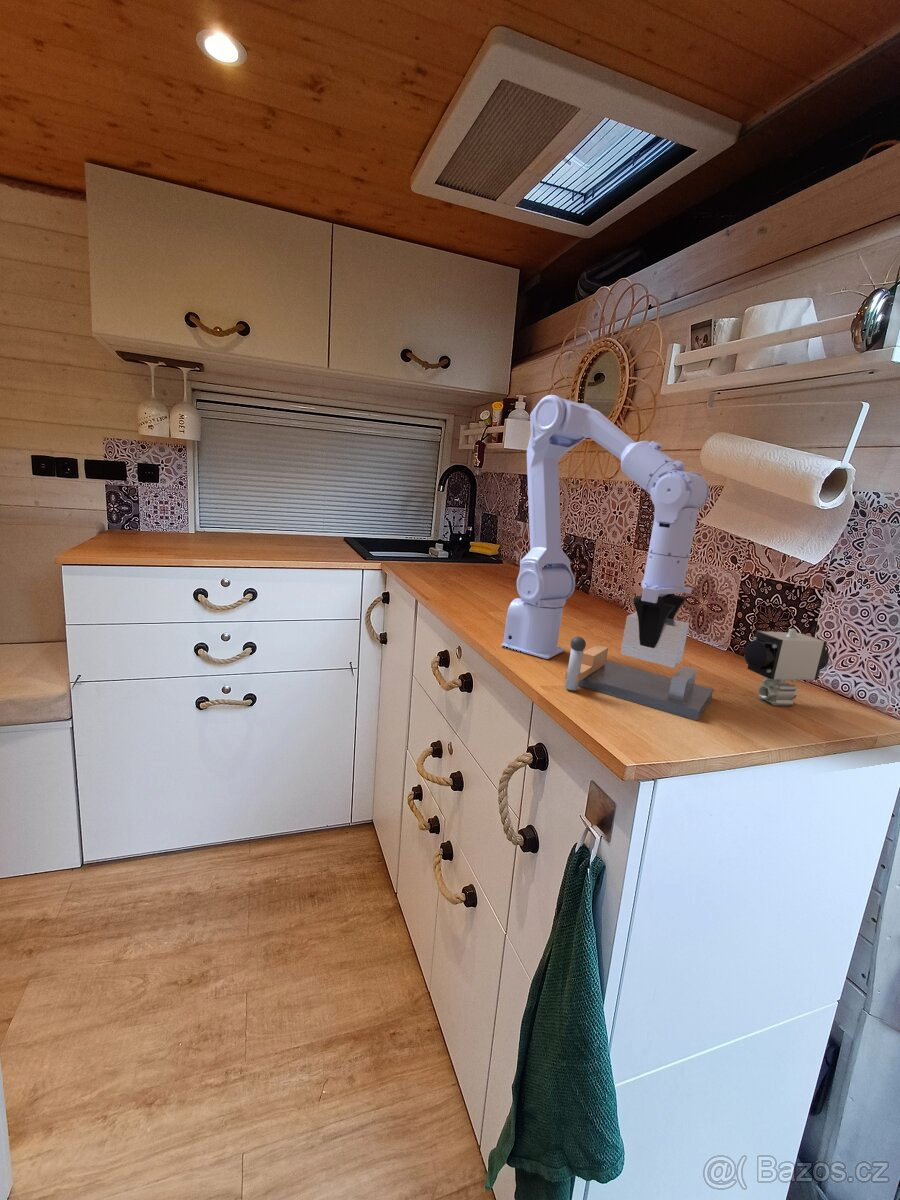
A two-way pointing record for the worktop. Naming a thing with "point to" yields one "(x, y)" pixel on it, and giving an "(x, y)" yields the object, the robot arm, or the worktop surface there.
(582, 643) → the ball knob lever
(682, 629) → the block
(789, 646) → the pneumatic valve
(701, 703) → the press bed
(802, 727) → the worktop surface
